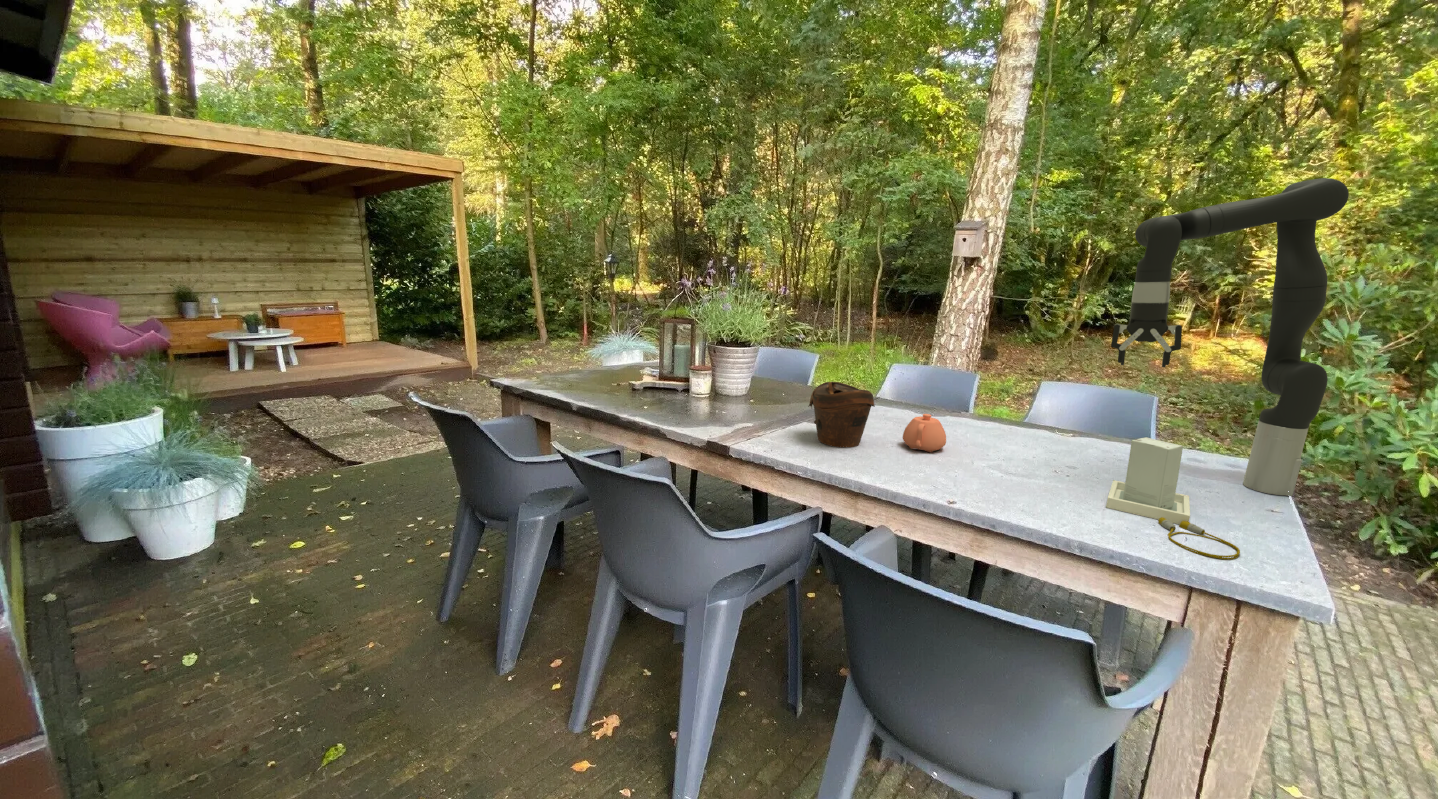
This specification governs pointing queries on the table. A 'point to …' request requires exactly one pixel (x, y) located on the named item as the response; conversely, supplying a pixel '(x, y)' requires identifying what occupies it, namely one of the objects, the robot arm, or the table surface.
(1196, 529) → the extension cord
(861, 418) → the case
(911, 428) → the sugar bowl
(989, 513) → the table surface
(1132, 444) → the skincare box
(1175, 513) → the shallow cream tray
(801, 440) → the table surface
